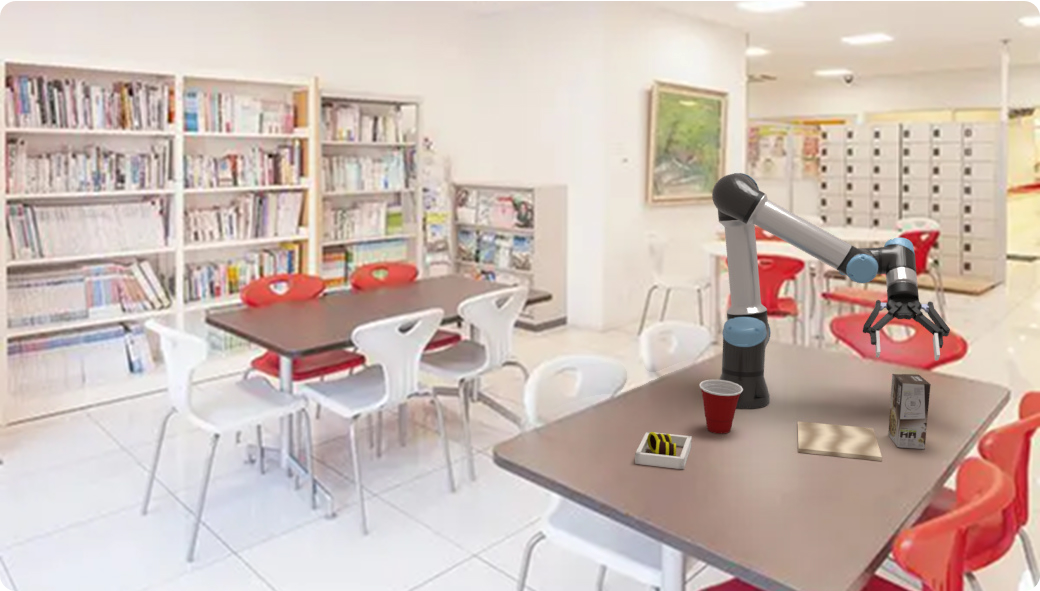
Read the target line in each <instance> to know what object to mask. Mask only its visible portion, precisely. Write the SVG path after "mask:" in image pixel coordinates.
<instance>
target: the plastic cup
mask: <svg viewBox="0 0 1040 591" xmlns="http://www.w3.org/2000/svg"><path fill="white" fill-rule="evenodd" d="M699 388H700V390H701V395H702V401H703V408H704V416H705V423H706V427H707V428H706V429H707V431H709V432H711V433H714V434H728V433H730V432H731V429H732V425H733V421H734V418H735V414H736V410H737V408H736V406H737V402H738V399H739V396H740V394H741V392H742V391H743V388H742V387H741V386H740V385H738V384H736V383H733V382H730V381H725V380H719V379H707V380H702V381H701V382H699Z"/></svg>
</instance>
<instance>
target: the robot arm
mask: <svg viewBox="0 0 1040 591" xmlns="http://www.w3.org/2000/svg"><path fill="white" fill-rule="evenodd" d="M711 194H712V195H711V197H712V203H713V204H714V207H715V208H716V209H717V217H718V222H719V223H720V224H721V225H722V226H723V227H724V236H725V247H726V260H727V269H728V270H727V272H728V281H729V282H728V283H729V293H730V304H731V305H730V307H728V309H727V310H726V318H727V319H726V321H725V322H724V325H723V329H722V333H721V334H722V355H721V356H722V360H721V361H722V362H721V374H720V377H719V379H718V380H725V381H730V382H733V383H736V384H738V385H740V386H741V387H742V388H743V391H742V392H741V394H740V396H739V399H738V402H737V406H736V409H758V408H763V407H766V406H768V405H769V404H770V392H769V389H768V386H767V382H766V379H765V361H766V347H767V345H768V343H769V342H770V339H771V327H770V324H769V319H768V308H767V307H766V306H764V304H762V300H761V288H760V275H759V265H758V264H759V263H758V249H757V238H756V228H755V226H756V227H759V228H761V229H762V230H764V231H766V232H767V233H770V234H771V235H773V236H775V237H777V238H779V239H780V240H782V241H784V242H785V243H788V244H790V245H791V246H793V247H795V248H797V249H799V250H801V252H805V254H807V255H810V256H811V257H813V258H814V259H817V260H818V261H820V262H822V263H824V264H825V265H828V267H832V268H833V269H835V270H837V271H838V273H839V274H840V275H841V276H847V277H848V278H849V279H850V280H851V281H853V282H855V283H856V284H867V283H869V282H872V281H873V280H874V279H875V278H876V276H877V275H885V281H886V295H887V296H886V298H887V302H881V301H882V300H880V299H877V300H875V304H874V308H873V309H872V311H871V313H870V315H869V317H867V320H866V321H865V323H863V327H862V333H863V334H868V335H869V336H870V344H871V345H872V346H875V358H879V359H880V355H881V340H880V337H881V335H880V331H881V330H882V329H883V328H884V327H885V326H886V325H888V323H890V322H891V321H892V320H894V319H895V318H896V319H897V320H911V319H912V320H914V321H915V322H916V323H919V324H920V325H921V326H922V327H923V328H925V329H926V330H927V331H928V332H929V333H930V334H932V336H933V337H932V344H933V354H934V355H933V356H934V361H939V359H940V356H941V351H940V349H942V348H943V346H944V337H949V335H950V333H951V329H950V327H949V325H947V323H946V322H945V321H944V319H943V318H942V317H941V315H940V314H939V313H938V311H937V310H936V309H935V306H934V303H933V302H932V301H927V303H921V302H920V297H919V289H918V286H919V284H918V277H917V276H918V275H917V266H916V265H917V264H916V262H917V261H916V253H915V248H914V244H913V242H912V241H911V240H909V238H908V239H907V238H905V237H894V238H893V239H892V238H891V239H888V240H887V241H886V242H885V243H884V245H883V246H881V247H880V246H879V247H860V248H859V247H858V248H857V247H856V246H854V245H852V244H850V243H848V242H847V241H844V240H843V239H841V238H839V237H837V236H836V235H834V234H831V233H830V232H828V231H826V230H824V229H822V228H821V227H820V226H817V225H815V224H813V223H812V222H810V221H808V220H807V219H805V218H804V217H803V218H802V217H801V216H799V215H798V214H795V213H794V212H792V211H790V210H788V209H786V208H784V207H783V206H781V205H779V204H777V203H775V202H773V201H772V200H770V199H768V195H767V194H766V193H764V192H763V191H761V190H760V188H759V186H758V183H757V182H756V181H755V179H754V178H753V177H751V176H750V175H748V174H747V173H746V174H745V173H743V172H734V173H731V174H727V175H724V176H722V177H721V178H720V179H718V180H717V181H716V183H715V184H714V187H713V188H712V192H711ZM884 309H886V310H887V313H886V314H884V315H883V316H882V318H880V319H879V320H878V321H876V323H874V322H875V320H876V318H877V317H878V315H879V314H880V312H881V311H883V310H884ZM922 310H923V311H924V313H927V315H928V316H926V315H924V313H923V312H922ZM928 317H929V318H930V319H929V318H928ZM873 324H874V325H873ZM872 325H873V326H872Z"/></svg>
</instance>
